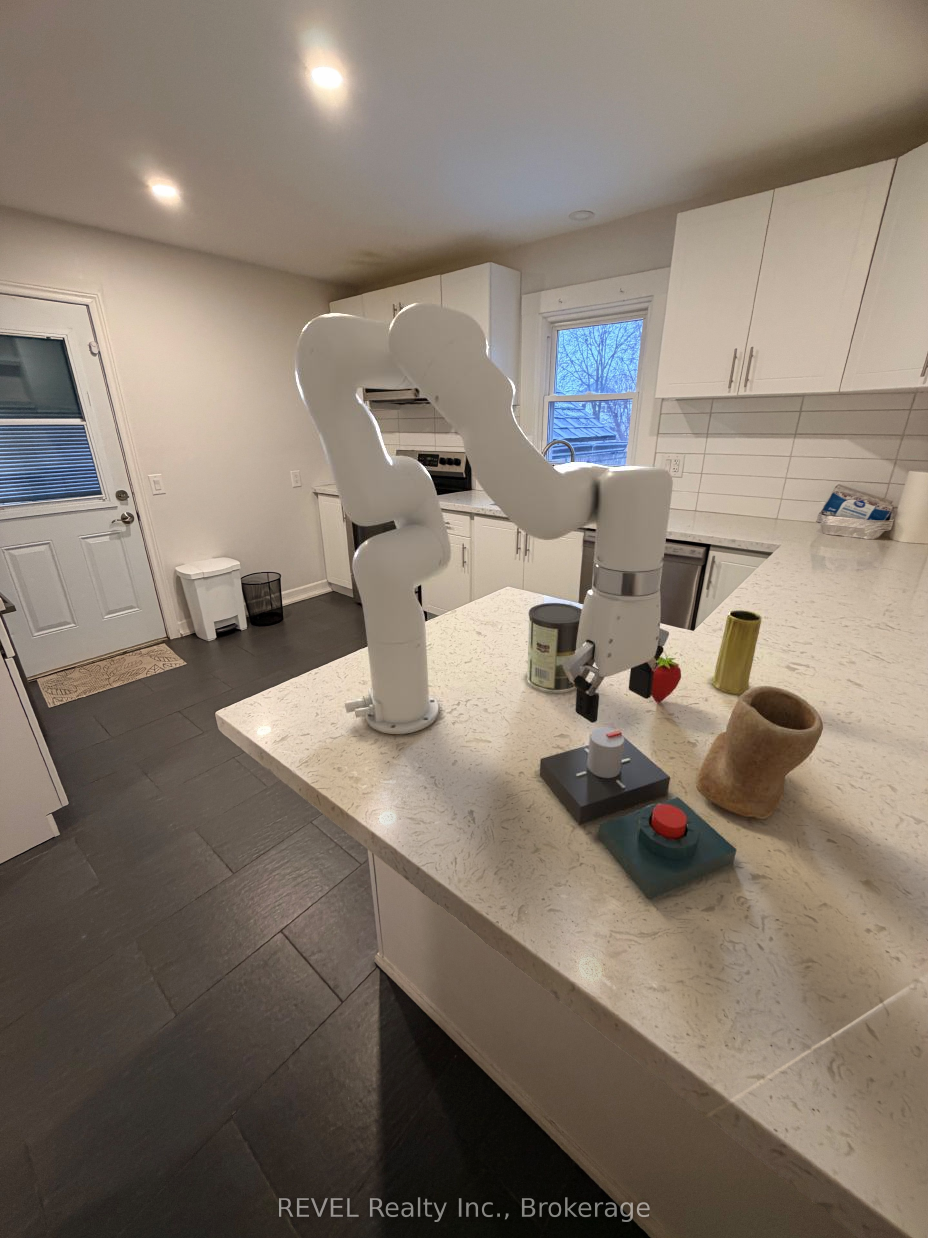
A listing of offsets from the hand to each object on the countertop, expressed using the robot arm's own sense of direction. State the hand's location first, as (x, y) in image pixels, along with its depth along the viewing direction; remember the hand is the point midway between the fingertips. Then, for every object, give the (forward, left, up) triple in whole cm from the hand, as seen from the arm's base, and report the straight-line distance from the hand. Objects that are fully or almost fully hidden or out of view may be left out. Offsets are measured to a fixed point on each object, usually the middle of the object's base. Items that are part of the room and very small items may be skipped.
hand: (613, 705), depth 64 cm
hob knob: (0, 0, -10) cm, 10 cm away
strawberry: (+22, +14, -13) cm, 29 cm away
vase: (+38, +13, -13) cm, 42 cm away
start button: (0, -12, -9) cm, 15 cm away
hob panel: (0, 0, -13) cm, 13 cm away
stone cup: (+18, -8, -13) cm, 23 cm away
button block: (0, -12, -13) cm, 18 cm away
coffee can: (+9, +28, -13) cm, 32 cm away
